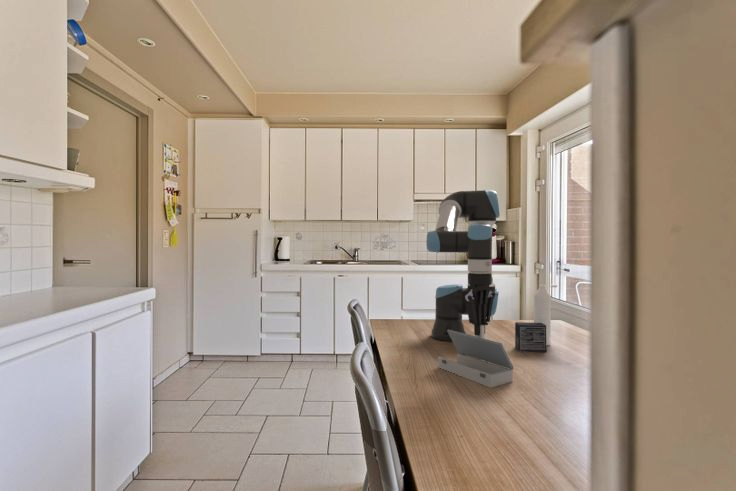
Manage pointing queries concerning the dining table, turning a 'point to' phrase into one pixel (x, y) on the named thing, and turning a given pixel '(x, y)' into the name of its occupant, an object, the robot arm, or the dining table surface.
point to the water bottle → (543, 309)
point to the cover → (480, 348)
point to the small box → (530, 337)
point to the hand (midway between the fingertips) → (479, 344)
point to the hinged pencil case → (477, 370)
